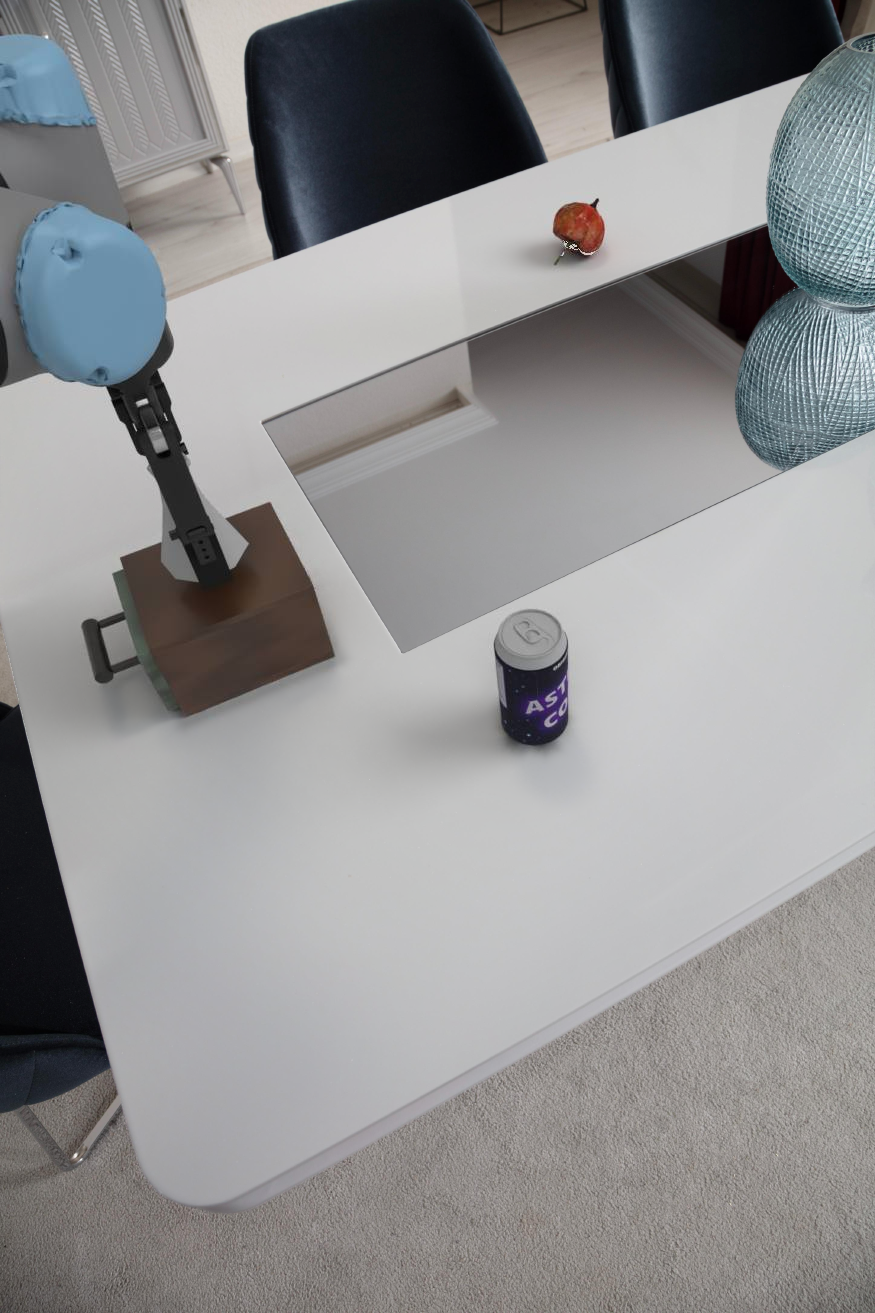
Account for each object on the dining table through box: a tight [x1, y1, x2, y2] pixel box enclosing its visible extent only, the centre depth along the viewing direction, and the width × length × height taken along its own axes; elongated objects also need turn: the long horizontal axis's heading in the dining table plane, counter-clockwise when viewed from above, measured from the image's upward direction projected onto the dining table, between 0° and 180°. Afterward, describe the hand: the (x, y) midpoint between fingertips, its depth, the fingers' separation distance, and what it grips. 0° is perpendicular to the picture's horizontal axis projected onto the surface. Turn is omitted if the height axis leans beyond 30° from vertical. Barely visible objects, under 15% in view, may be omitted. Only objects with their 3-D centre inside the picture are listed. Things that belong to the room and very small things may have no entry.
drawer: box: [80, 568, 181, 713], centre depth 85 cm, size 18×11×8 cm, turn 114°
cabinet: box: [119, 501, 336, 718], centre depth 85 cm, size 15×13×10 cm
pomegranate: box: [552, 197, 606, 266], centre depth 126 cm, size 7×7×10 cm
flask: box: [146, 452, 249, 582], centre depth 76 cm, size 7×7×10 cm
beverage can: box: [493, 608, 569, 746], centre depth 75 cm, size 6×6×12 cm
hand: (204, 552), depth 80 cm, fingers closed on flask, 7 cm apart
